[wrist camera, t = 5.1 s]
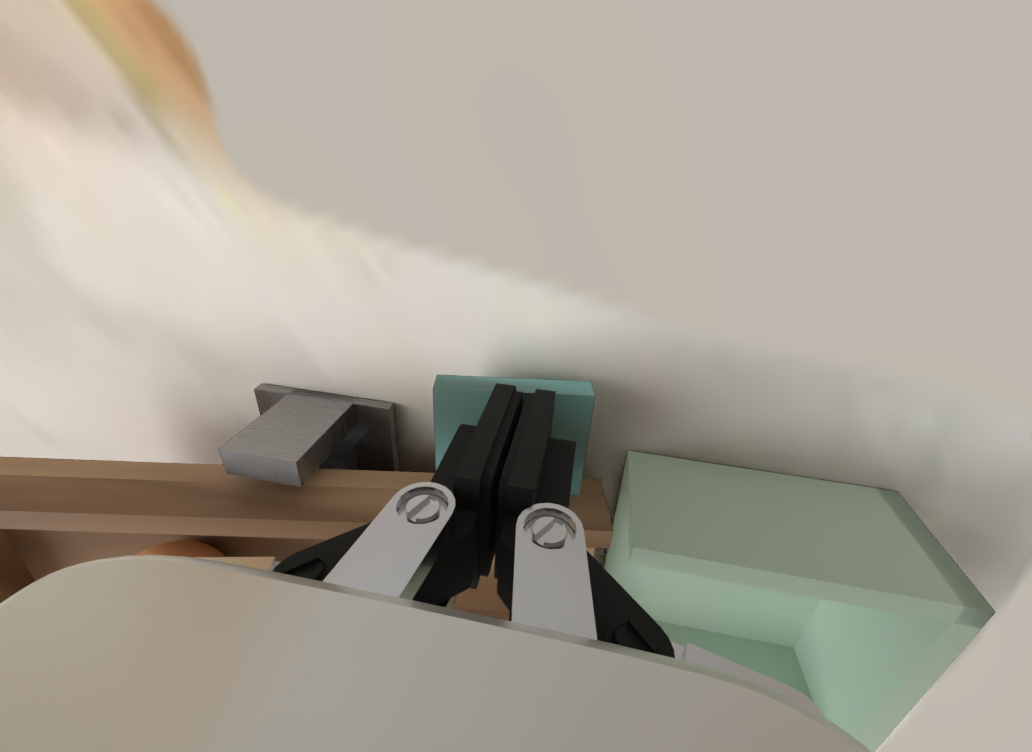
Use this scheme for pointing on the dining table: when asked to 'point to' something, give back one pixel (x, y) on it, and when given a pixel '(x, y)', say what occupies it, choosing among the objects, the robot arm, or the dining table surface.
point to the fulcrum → (312, 436)
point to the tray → (796, 583)
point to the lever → (252, 499)
